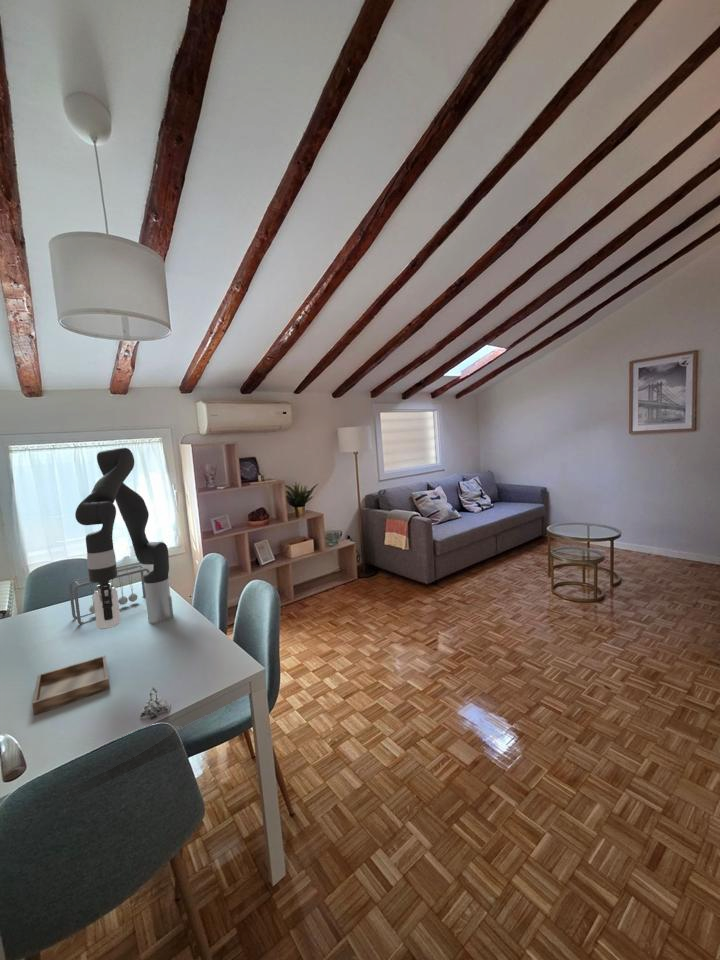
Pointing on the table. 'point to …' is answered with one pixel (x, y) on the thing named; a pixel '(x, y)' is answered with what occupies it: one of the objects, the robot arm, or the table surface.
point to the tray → (70, 684)
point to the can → (100, 613)
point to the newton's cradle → (121, 600)
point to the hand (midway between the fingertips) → (107, 616)
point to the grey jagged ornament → (154, 706)
